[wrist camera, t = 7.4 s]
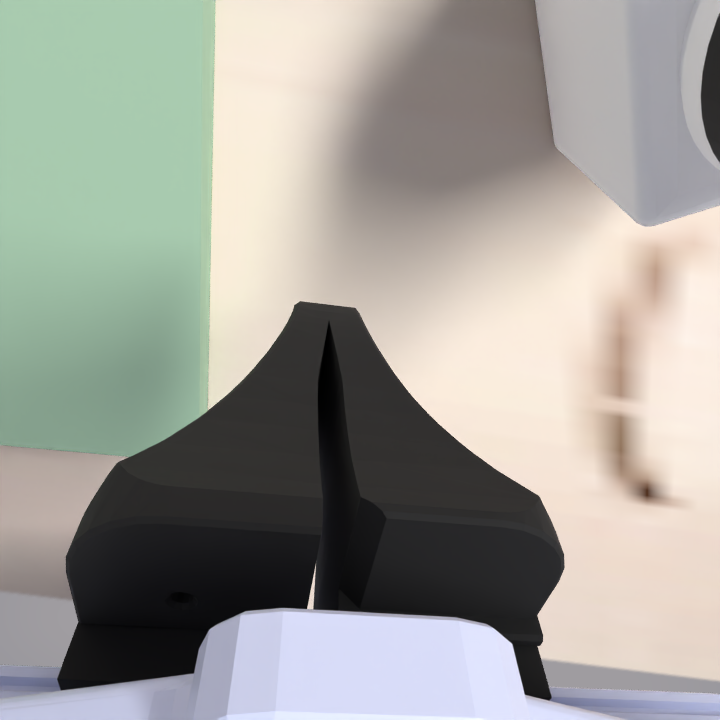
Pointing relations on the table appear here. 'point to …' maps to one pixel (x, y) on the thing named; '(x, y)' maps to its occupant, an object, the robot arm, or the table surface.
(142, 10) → the deck
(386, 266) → the table surface
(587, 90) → the medicine bottle
